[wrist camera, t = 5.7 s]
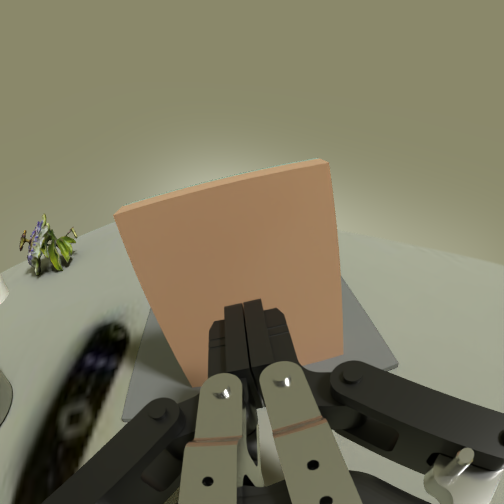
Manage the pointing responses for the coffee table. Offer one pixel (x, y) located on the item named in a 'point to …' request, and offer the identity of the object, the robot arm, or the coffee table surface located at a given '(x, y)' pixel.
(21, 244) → the passion flower
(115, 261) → the coffee table surface
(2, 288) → the cylinder with rectangular tab
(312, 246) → the tile
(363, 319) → the mat
